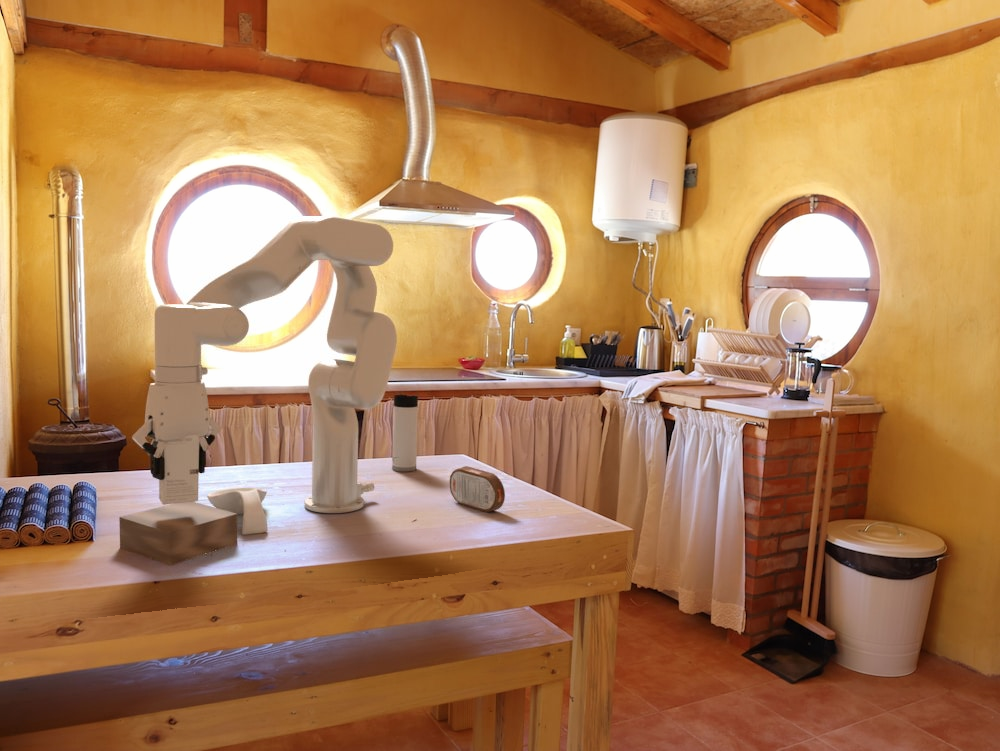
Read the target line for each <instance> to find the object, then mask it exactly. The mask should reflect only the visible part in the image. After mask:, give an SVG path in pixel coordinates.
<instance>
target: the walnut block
mask: <svg viewBox="0 0 1000 751" xmlns="http://www.w3.org/2000/svg"><path fill="white" fill-rule="evenodd" d="M118 521H119V549H122V550H125V551H126V552H129V553H132V552H133V554H135V553H136V555H138V554H139V556H141V555H142V557H144V558H147V559H150V560H152V561H155V560H156V561H155V562H158V561H159V563H161V562H162V564H164V563H165V564H164V565H168V566H172V565H173V566H174V565H175V564H178V563H182V562H186V561H188V560H192V559H194V558H193V557H195V558H198V557H201V556H204V555H206V554H205V553H208V554H210V553H209V552H211V553H213V551H214V552H216V551H215V550H217V551H220V550H223V549H226V548H225V547H227V548H229V547H228V546H230V547H233V546H236V545H238V514H237V513H233V512H229V511H226V510H222V509H218V508H216V507H214V506H212V505H211V506H210V505H207V504H203V503H200V502H197V501H195V502H185V503H174V504H166V505H163V506H159V507H155V508H154V507H153V508H150V509H146V510H143V511H139V512H134V513H130V514H126V515H122V516H119V520H118ZM235 544H236V545H235ZM232 545H233V546H232ZM222 548H223V549H222ZM219 549H220V550H219ZM203 554H204V555H203ZM200 555H201V556H200ZM197 556H198V557H197ZM191 558H192V559H191ZM185 560H186V561H185Z"/></svg>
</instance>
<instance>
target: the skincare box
mask: <svg viewBox="0 0 1000 751" xmlns="http://www.w3.org/2000/svg"><path fill="white" fill-rule="evenodd" d="M162 457H164V459H165V478H164V479H163V480H159V479H158V499H159V501H160V502H161V503H162V505H163V506H166V505H171V504H175V503H185V502H198V501H199V476H200V473H199V435H198V434H195V435H189V436H186V437H185V438H184V439H180V440H175V441H169V442H167V443H166V446H165V448H164V450H163V452H162Z"/></svg>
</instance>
